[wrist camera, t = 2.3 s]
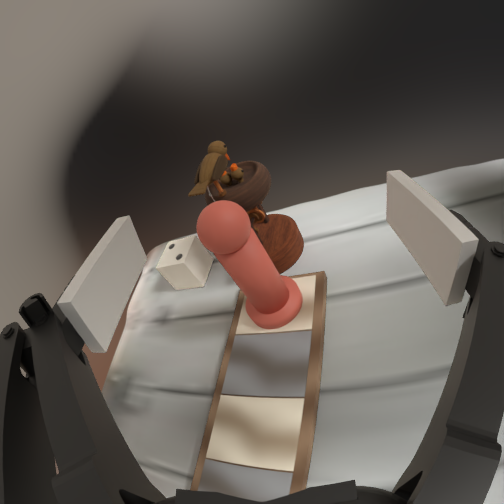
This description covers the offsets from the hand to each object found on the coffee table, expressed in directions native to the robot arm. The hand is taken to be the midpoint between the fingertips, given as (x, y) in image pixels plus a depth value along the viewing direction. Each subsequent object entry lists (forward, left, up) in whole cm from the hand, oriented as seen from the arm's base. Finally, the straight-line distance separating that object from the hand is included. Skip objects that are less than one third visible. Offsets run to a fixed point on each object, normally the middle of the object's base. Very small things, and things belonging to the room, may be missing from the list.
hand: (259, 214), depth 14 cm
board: (+3, -9, -22) cm, 24 cm away
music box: (-21, -12, -23) cm, 33 cm away
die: (-18, -26, -22) cm, 39 cm away
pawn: (-9, -9, -21) cm, 24 cm away
